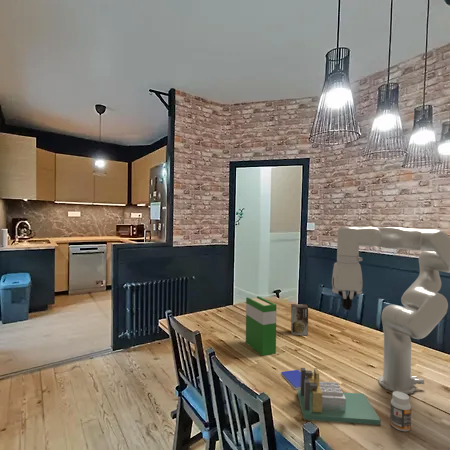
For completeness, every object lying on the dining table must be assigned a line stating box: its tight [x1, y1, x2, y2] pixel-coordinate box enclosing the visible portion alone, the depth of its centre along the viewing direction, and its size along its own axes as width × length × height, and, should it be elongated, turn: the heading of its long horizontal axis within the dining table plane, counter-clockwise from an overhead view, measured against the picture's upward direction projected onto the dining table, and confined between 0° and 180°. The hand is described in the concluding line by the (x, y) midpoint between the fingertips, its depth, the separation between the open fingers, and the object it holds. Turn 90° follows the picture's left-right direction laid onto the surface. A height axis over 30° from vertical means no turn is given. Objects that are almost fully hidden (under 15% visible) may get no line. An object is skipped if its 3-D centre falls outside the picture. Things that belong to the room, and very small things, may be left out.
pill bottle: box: [389, 391, 412, 432], centre depth 97 cm, size 6×6×10 cm
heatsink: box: [319, 380, 346, 412], centre depth 107 cm, size 8×10×6 cm
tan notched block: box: [306, 367, 322, 413], centre depth 107 cm, size 3×14×10 cm, turn 175°
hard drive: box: [280, 369, 301, 391], centre depth 124 cm, size 2×8×12 cm
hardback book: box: [245, 295, 277, 357], centre depth 156 cm, size 18×7×24 cm, turn 23°
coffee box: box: [290, 303, 309, 336], centre depth 176 cm, size 9×6×16 cm
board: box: [296, 367, 382, 426], centre depth 106 cm, size 24×15×11 cm, turn 85°
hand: (346, 308), depth 115 cm, fingers closed
